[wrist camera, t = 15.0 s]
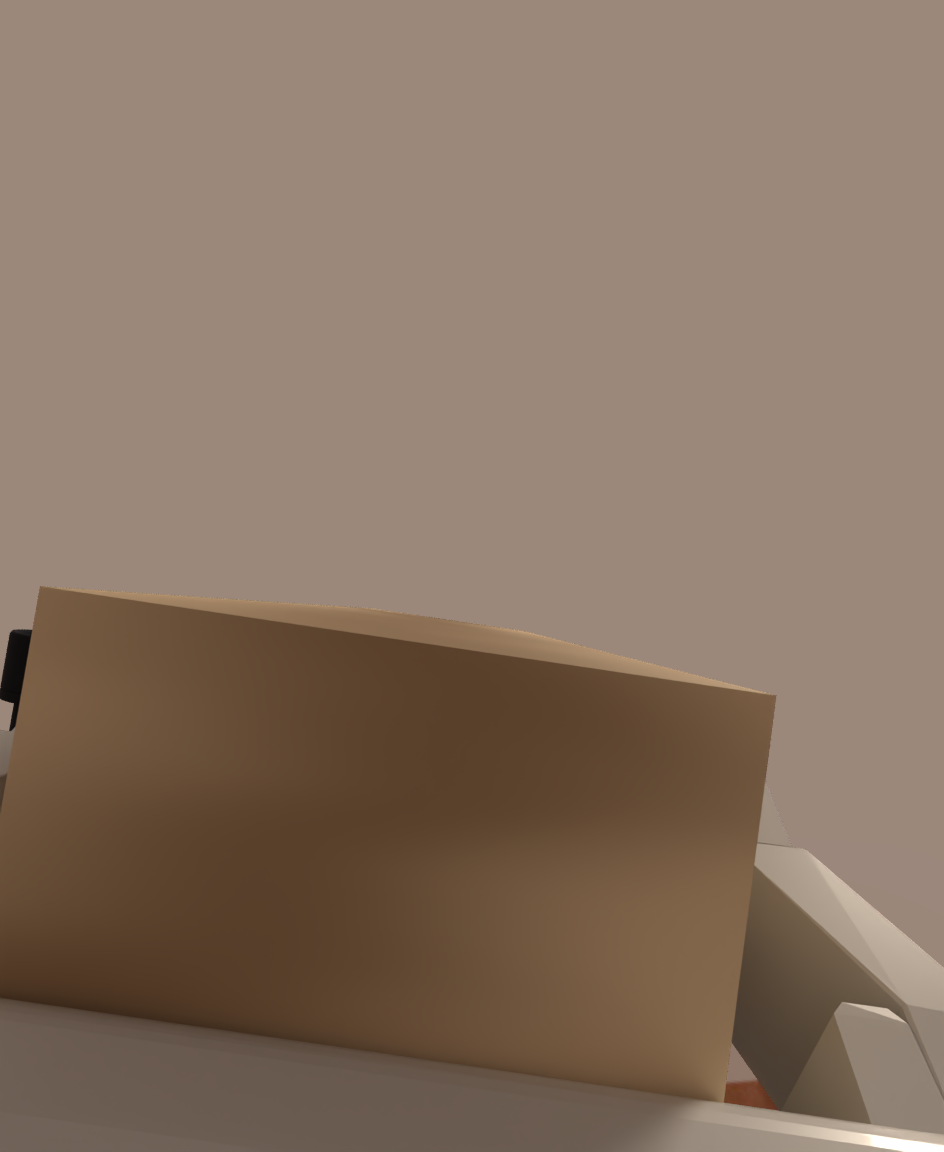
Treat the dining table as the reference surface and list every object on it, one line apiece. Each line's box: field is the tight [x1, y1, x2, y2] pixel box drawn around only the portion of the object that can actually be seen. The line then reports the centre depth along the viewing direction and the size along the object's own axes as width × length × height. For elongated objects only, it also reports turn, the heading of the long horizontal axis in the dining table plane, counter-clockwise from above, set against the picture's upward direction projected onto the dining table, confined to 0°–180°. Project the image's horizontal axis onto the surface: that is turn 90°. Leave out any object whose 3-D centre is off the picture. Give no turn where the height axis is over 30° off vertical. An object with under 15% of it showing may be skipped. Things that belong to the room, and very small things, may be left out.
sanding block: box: [0, 586, 776, 1103], centre depth 14 cm, size 4×19×4 cm, turn 1°
